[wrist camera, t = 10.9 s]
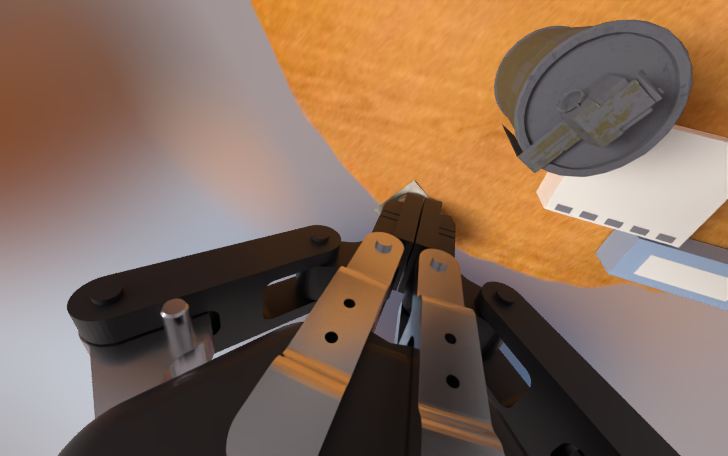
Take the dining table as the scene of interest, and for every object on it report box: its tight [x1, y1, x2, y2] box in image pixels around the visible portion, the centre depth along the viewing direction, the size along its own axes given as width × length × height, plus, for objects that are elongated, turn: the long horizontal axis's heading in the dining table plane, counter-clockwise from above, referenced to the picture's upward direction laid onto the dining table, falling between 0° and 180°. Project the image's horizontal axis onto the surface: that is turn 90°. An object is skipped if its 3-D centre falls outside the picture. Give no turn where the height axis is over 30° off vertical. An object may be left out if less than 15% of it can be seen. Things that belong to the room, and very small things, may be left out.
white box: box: [536, 125, 728, 248], centre depth 36 cm, size 12×16×5 cm
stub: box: [596, 229, 728, 311], centre depth 40 cm, size 6×16×5 cm, turn 79°
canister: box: [494, 20, 692, 177], centre depth 28 cm, size 11×10×20 cm
